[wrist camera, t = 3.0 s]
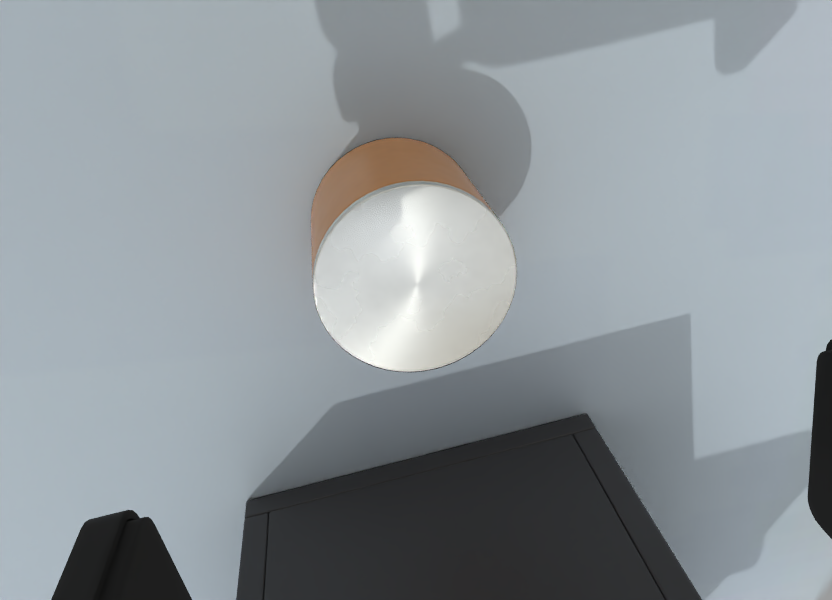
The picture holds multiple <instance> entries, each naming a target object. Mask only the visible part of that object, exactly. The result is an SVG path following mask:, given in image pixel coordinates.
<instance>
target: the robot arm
mask: <svg viewBox="0 0 832 600" xmlns="http://www.w3.org/2000/svg"><path fill="white" fill-rule="evenodd" d="M808 503H809V507H810V510H811V512H812V515H813V516H814V518H815V520H816V521H817V523H818V524H819V525H820V526H821V528H822V529H823V530H824V531H825V532H826V533H827V534H828V535H829V537H830V538H831V539H832V340H830V341H829V343H828V344H827V347H826V351H824V352H822V353H820V355H819V356H818V359H817V367H816V382H815V397H814V412H813V426H812V441H811V456H810V471H809V486H808ZM51 600H192V599H191V597H190V595H189V593H188V591H187V589H186V587H185V585H184V583H183V581H182V579H181V577H180V575H179V573H178V571H177V569H176V567H175V565H174V563H173V561H172V559H171V557H170V554H169V552H168V550H167V548H166V546H165V544H164V542H163V540H162V538H161V536H160V534H159V532H158V530H157V528H156V526H155V524H154V523H153V521H152V520H151V519H150V518H149V517H144V518H139V516H138V515H137V513H135V512H134V511H133V510H126V511H122V512H118V513H114V514H110V515H106V516H102V517H98V518H94V519H90V520H88V521H86V522H85V523H84V525H83V526H82V528H81V530H80V532H79V535H78V537H77V539H76V542H75V544H74V547H73V549H72V551H71V554H70V556H69V559H68V561H67V563H66V566H65V568H64V571H63V573H62V575H61V578H60V580H59V583H58V585H57V587H56V590H55V592H54V595H53V597H52V599H51Z"/></svg>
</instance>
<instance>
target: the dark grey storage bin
mask: <svg viewBox="0 0 832 600" xmlns="http://www.w3.org/2000/svg"><path fill="white" fill-rule="evenodd" d="M236 600H702V599H701V597H700V596H699V594H698V593H697V591H696V589H695V588H694V586H693V584H692V583H691V581H690V580H689V578H688V576H687V575H686V573H685V572H684V570H683V568H682V567H681V565H680V563H679V562H678V560H677V559H676V557H675V555H674V554H673V552H672V551H671V549H670V547H669V546H668V544H667V542H666V541H665V539H664V538H663V536H662V534H661V533H660V531H659V530H658V528H657V526H656V525H655V523H654V521H653V520H652V518H651V517H650V515H649V513H648V512H647V510H646V508H645V507H644V505H643V504H642V502H641V500H640V499H639V497H638V496H637V494H636V492H635V491H634V489H633V487H632V486H631V484H630V483H629V481H628V479H627V478H626V476H625V475H624V473H623V471H622V470H621V468H620V466H619V465H618V463H617V462H616V460H615V458H614V457H613V455H612V454H611V452H610V450H609V449H608V447H607V445H606V444H605V442H604V441H603V439H602V437H601V436H600V434H599V432H598V431H597V429H596V428H595V426H594V424H593V423H592V421H591V419H590V418H589V416H588V415H587V414H584V415H580V416H576V417H572V418H569V419H565V420H561V421H557V422H553V423H549V424H545V425H541V426H537V427H533V428H530V429H526V430H522V431H518V432H514V433H510V434H506V435H502V436H498V437H495V438H491V439H487V440H483V441H479V442H475V443H471V444H467V445H463V446H460V447H456V448H452V449H448V450H444V451H440V452H436V453H432V454H428V455H424V456H421V457H417V458H413V459H409V460H405V461H401V462H397V463H393V464H389V465H386V466H382V467H378V468H374V469H370V470H366V471H362V472H358V473H354V474H351V475H347V476H343V477H339V478H335V479H331V480H327V481H323V482H319V483H315V484H312V485H308V486H304V487H300V488H296V489H292V490H288V491H284V492H280V493H277V494H273V495H269V496H265V497H261V498H257V499H253V500H249V501H247V502H246V512H245V522H244V531H243V541H242V550H241V560H240V569H239V579H238V589H237V598H236Z"/></svg>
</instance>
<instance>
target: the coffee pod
mask: <svg viewBox="0 0 832 600" xmlns="http://www.w3.org/2000/svg"><path fill="white" fill-rule="evenodd" d="M311 241H312V278H313V295H314V301H315V305H316V309H317V312H318V314H319V317H320V319H321V321H322V323H323V325H324V327H325V329H326V330H327V332H328V333H329V334H330V336H331V337H332V338H333V340H334V341H335V342H336V343H337V344H338V345H339V346H340V347H341V348H342V349H344V350H345V351H346V352H348V353H349V354H350V355H352V356H353V357H355V358H357V359H359V360H360V361H362V362H364V363H367V364H369V365H371V366H374V367H377V368H381V369H385V370H390V371H397V372H420V371H427V370H432V369H437V368H440V367H443V366H447V365H449V364H452V363H454V362H456V361H458V360H460V359H462V358H464V357H466V356H467V355H469V354H471V353H472V352H473V351H475V350H476V349H477V348H479V347H480V346H481V345H482V344H483V343H485V342H486V341H487V340H488V339H489V338H490V337H491V335H492V334H493V333H494V332H495V331H496V330H497V328H498V327H499V325H500V324H501V322H502V321H503V319H504V318H505V316H506V314H507V312H508V310H509V308H510V305H511V302H512V299H513V296H514V292H515V287H516V279H517V265H516V257H515V252H514V248H513V245H512V242H511V240H510V237H509V235H508V233H507V231H506V230H505V228H504V226H503V225H502V223H501V222H500V221H499V219H498V218H497V216H496V215H495V214H494V212H493V211H492V210H491V208H490V207H489V206H488V204H487V203H486V202H485V200H484V199H483V198H482V196H481V195H480V193H479V192H478V191H477V189H476V188H475V187H474V185H473V184H472V183H471V181H470V180H469V179H468V177H467V176H466V175H465V173H464V172H463V171H462V169H461V168H460V167H459V165H458V164H457V163H456V162H455V161H454V160H453V159H452V158H451V157H450V156H448V155H447V154H445V153H444V152H443V151H441V150H440V149H438V148H436V147H434V146H432V145H430V144H427V143H424V142H422V141H418V140H413V139H407V138H386V139H380V140H375V141H372V142H369V143H366V144H363V145H361V146H359V147H357V148H355V149H353V150H352V151H350V152H348V153H347V154H345V155H344V156H343V157H342V158H340V159H339V160H338V161H337V162H336V163H335V164H334V165H333V166H332V167H331V168H330V169H329V171H328V172H327V173H326V175H325V176H324V178H323V179H322V181H321V183H320V185H319V187H318V189H317V191H316V194H315V197H314V201H313V205H312V211H311Z"/></svg>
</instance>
